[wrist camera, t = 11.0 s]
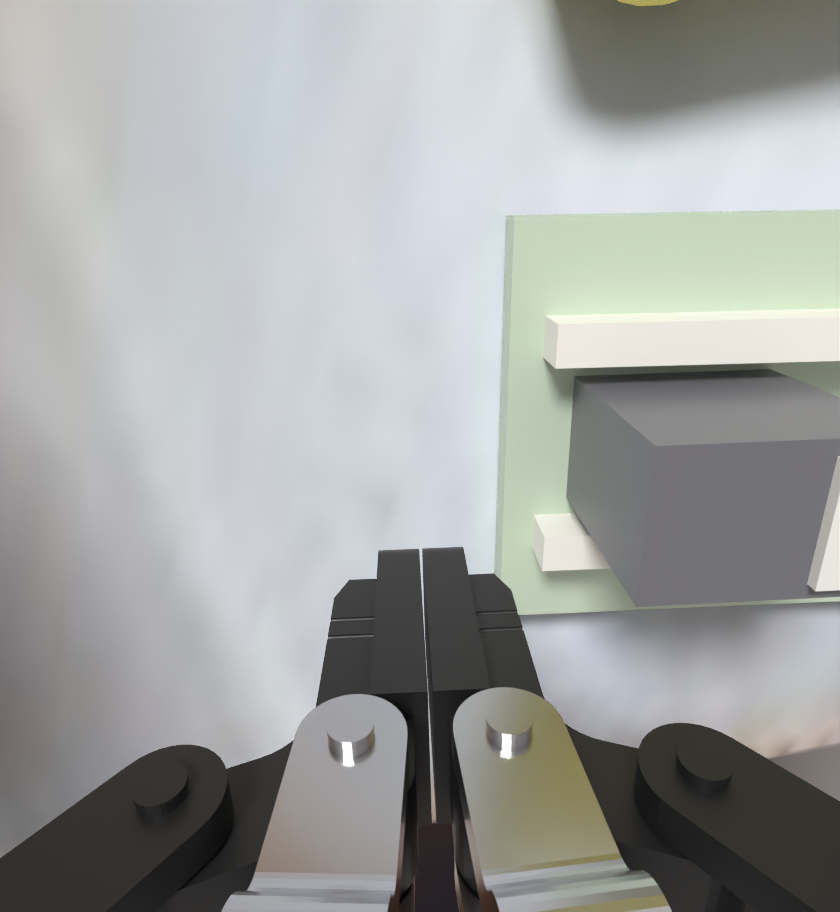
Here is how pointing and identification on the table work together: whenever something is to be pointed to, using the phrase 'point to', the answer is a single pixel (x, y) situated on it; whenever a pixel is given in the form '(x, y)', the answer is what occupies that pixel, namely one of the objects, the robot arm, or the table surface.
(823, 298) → the board
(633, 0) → the plastic component
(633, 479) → the plug
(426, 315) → the table surface
